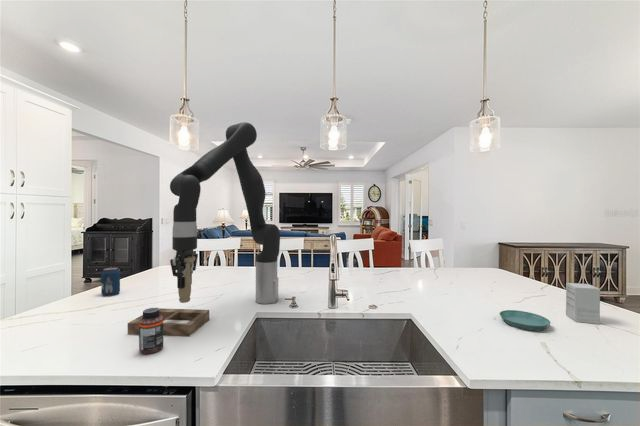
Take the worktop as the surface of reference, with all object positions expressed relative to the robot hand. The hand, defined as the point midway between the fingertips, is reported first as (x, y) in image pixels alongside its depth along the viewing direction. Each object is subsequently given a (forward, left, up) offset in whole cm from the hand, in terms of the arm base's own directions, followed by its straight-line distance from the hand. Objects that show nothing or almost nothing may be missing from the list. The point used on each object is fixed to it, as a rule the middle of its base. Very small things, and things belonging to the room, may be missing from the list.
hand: (184, 286), depth 99 cm
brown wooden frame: (+5, 0, -14) cm, 14 cm away
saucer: (-116, -12, -14) cm, 118 cm away
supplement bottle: (+1, +16, -14) cm, 21 cm away
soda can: (+53, -33, -14) cm, 64 cm away
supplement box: (-140, -18, -14) cm, 142 cm away
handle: (0, 0, -5) cm, 5 cm away
